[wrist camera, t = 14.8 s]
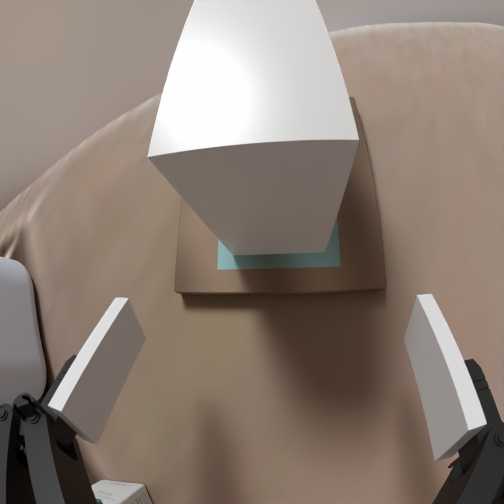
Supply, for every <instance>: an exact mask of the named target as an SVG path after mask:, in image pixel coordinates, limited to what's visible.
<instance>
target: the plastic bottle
mask: <svg viewBox="0 0 504 504" xmlns="http://www.w3.org/2000/svg"><path fill="white" fill-rule="evenodd" d="M45 385H46V364H45V358H44V354H43V349H42V344H41V339H40V333H39V327H38V321H37V314H36V306H35V298H34V289H33V284H32V280H31V277H30V275H29V273H28V271H27V269H26V268H25V267H24V266H23V265H22V264H21V263H19V262H18V261H15V260H11V259H7V258H3V257H0V405H1V404H4V403H6V404H9V405H10V406H11V407H12V403H13V401H14V399H15V398H16V397H17V396H18V395H20V394H22V393H29V394H30V395H31V396H32V397H33V398H34V399H35V400H36V401H38V400H39V399H40V398H41V396H42V394H43V392H44V389H45Z"/></svg>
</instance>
